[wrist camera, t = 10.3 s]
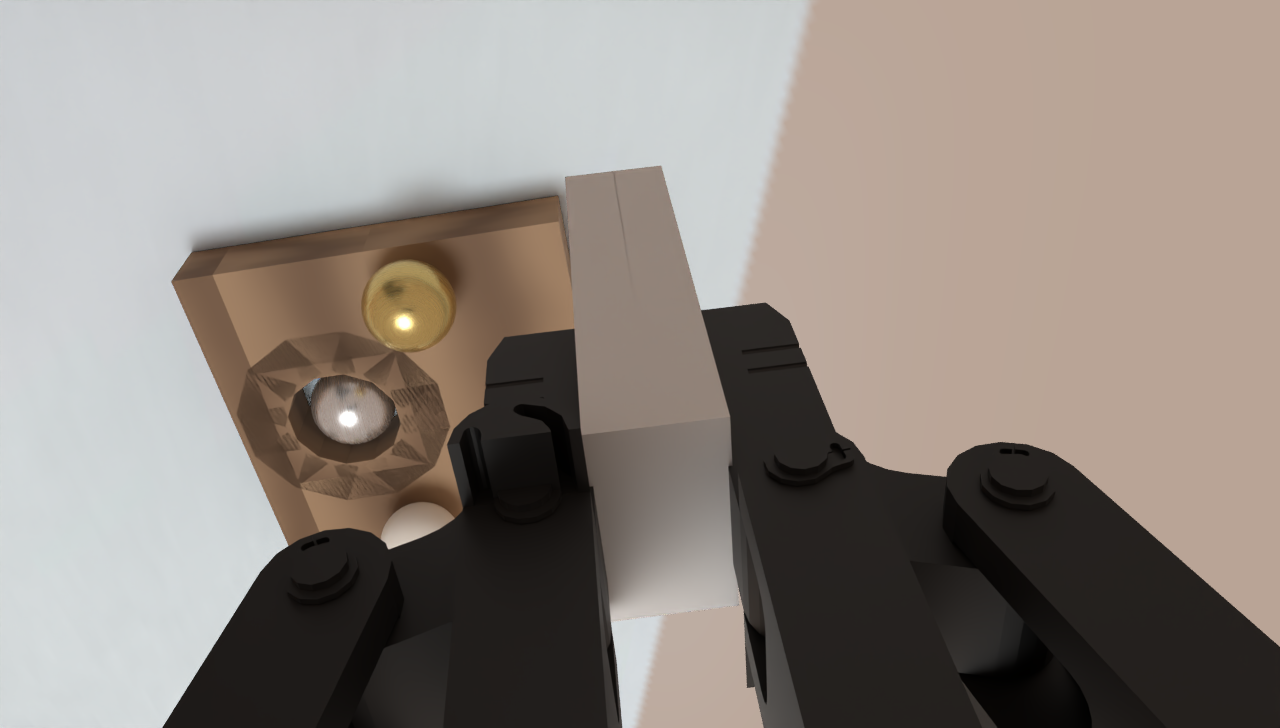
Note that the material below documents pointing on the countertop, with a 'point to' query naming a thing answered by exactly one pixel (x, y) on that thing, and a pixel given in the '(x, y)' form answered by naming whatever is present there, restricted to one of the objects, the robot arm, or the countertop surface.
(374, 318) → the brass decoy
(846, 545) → the robot arm
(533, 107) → the countertop surface
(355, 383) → the steel ball
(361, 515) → the board
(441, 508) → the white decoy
